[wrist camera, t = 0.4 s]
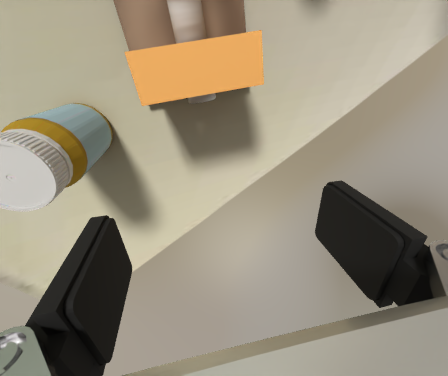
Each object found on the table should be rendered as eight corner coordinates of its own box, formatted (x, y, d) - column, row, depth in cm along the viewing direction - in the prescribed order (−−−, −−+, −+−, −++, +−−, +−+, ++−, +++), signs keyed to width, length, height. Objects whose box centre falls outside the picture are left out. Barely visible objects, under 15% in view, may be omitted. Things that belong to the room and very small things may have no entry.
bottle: (119, 115, 29) (68, 154, 16) (108, 160, 32) (57, 224, 19) (59, 92, 27) (-56, 116, 14) (53, 143, 29) (-48, 203, 16)
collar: (237, 41, 25) (261, 30, 17) (240, 79, 27) (263, 84, 19) (143, 56, 24) (124, 51, 16) (153, 94, 26) (142, 106, 18)
